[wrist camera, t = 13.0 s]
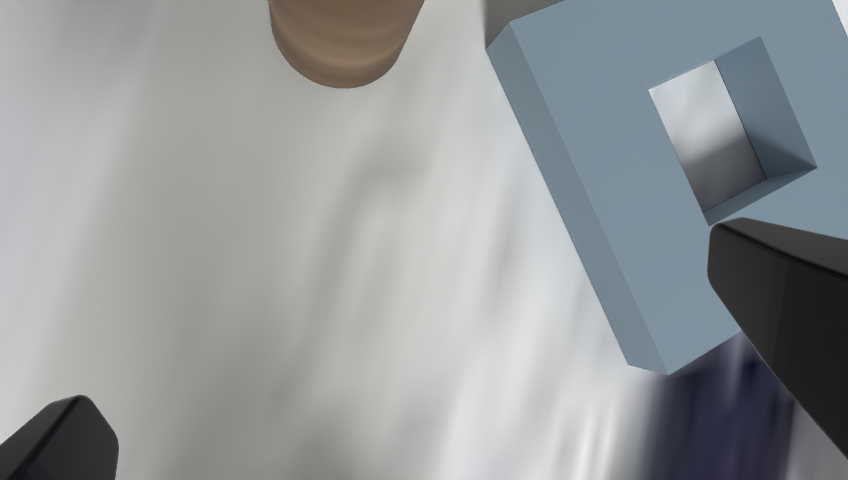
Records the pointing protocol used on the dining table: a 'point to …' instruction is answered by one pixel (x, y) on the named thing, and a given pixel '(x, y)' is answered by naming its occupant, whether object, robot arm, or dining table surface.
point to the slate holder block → (654, 153)
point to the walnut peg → (342, 37)
